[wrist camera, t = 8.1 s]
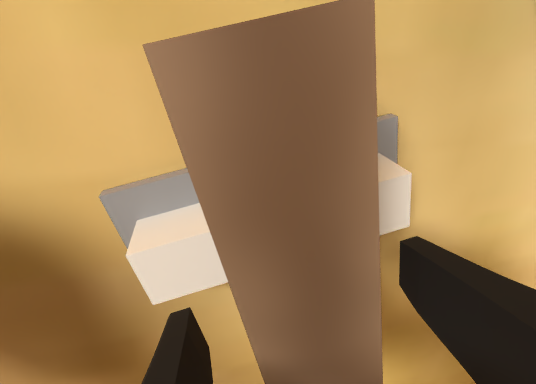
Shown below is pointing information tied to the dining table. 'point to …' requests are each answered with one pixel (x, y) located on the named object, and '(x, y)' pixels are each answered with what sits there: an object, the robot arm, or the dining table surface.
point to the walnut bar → (288, 180)
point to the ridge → (196, 229)
